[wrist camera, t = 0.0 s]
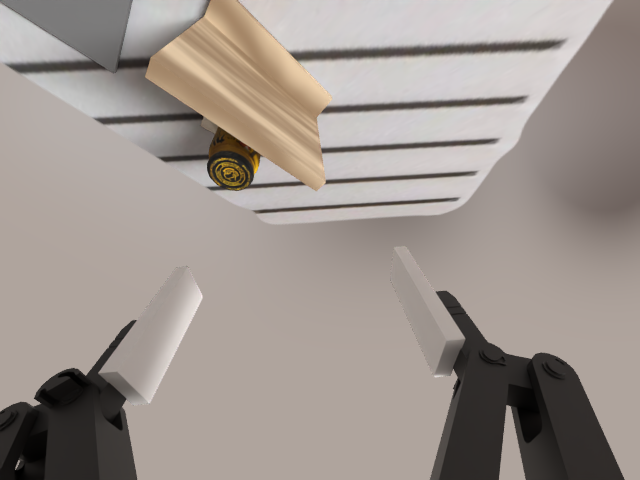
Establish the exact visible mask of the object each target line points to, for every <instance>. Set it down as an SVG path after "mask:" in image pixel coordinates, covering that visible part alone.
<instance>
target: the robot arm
mask: <svg viewBox="0 0 640 480" xmlns="http://www.w3.org/2000/svg"><path fill="white" fill-rule="evenodd" d="M390 280H391V283H392V285H393V287H394V289H395V292H396V294H397V296H398V298H399V301H400V303H401V305H402V307H403V309H404V312H405V314H406V316H407V318H408V321H409V323H410V325H411V327H412V330H413V332H414V334H415V336H416V339H417V341H418V343H419V345H420V347H421V350H422V352H423V354H424V356H425V359H426V361H427V363H428V365H429V368H430V370H431V372H432V374H433V376H434V377H441V376H450V375H451V373H452V370H453V369H454V371H455V373H456V374H457V376H458V379H457V381H456V383H455V385H454V388H453V389H454V393H453V396H452V400H451V404H450V407H449V412H448V415H447V419H446V423H445V426H444V430H443V434H442V437H441V441H440V445H439V448H438V452H437V456H436V460H435V463H434V467H433V471H432V475H431V478H430V480H499V472H500V462H501V452H502V443H503V433H504V423H505V413H506V405H509V406H511V409H512V413H513V419H514V423H515V428H516V433H517V438H518V444H519V448H520V453H521V458H522V463H523V468H524V473H525V478H526V480H624V477H623V475H622V473H621V471H620V468H619V466H618V464H617V462H616V460H615V457H614V455H613V453H612V451H611V448H610V446H609V444H608V442H607V440H606V437H605V435H604V433H603V431H602V429H601V426H600V424H599V422H598V420H597V417H596V415H595V413H594V411H593V408H592V406H591V404H590V402H589V399H588V397H587V395H586V393H585V391H584V389H583V386H582V384H581V382H580V379H579V377H578V375H577V374H576V372H575V371H574V369H573V368H572V367H571V366H570V365H568V364H567V363H566V362H565V361H563V360H562V359H560V358H558V357H556V356H554V355H550V354H547V353H538V354H535V355H534V357H533V358H532V359H529V358H524V357H519V356H514V355H509V354H506V353H504V352H503V351H502V350H501V349H500V348H498V347H497V346H495V345H493V344H491V343H488V342H487V340H486V339H485V338H484V337H483V335H482V334H481V332H480V331H479V330H478V328H477V327H476V326H475V324H474V323H473V321H472V320H471V319H470V317H469V316H468V315H467V314H466V312H465V311H464V309H463V308H462V307H461V305H460V303H459V302H458V301H457V299H456V298H455V297H454V296H453V295H451V294H450V293H449V292H447V291H438V292H435V291H434V289H433V288H432V286H431V284H430V283H429V281H428V280H427V278H426V277H425V275H424V274H423V272H422V270H421V269H420V267H419V266H418V264H417V263H416V261H415V260H414V258H413V257H412V255H411V253H410V252H409V250H408V249H407V247H406V246H400V247H394V249H393V258H392V268H391V277H390ZM202 298H203V296H202V294H201V292H200V290H199V288H198V286H197V284H196V282H195V280H194V277H193V275H192V273H191V271H190V269H189V267H188V266H186V267H177V268H175V270H174V271H173V272H172V274H171V275H170V276H169V278H168V279H167V281H166V282H165V283H164V284H163V286H162V287H161V289H160V290H159V291H158V293H157V294H156V295H155V297H154V298H153V299H152V301H151V302H150V304H149V305H148V306H147V307H146V309H145V310H144V312H143V313H142V315H141V316H140V317H139V318H138V320H133V321H131V322H130V323H129V324H128V325H127V326H125V327H124V328H123V329H122V330H121V331H120V333H119V334H118V336H116V338H115V340H114V341H113V342H112V343H111V344H110V346H109V348H108V349H106V351H105V352H104V353H103V355H102V356H101V357H100V359H99V360H98V361H97V362H96V364H95V365H94V366H93V368H92V369H91V370H90V371H89V373H88V374H87V375H86V376H85V375H84V374H83V373H82V372H81V371H79V370H78V369H75V368H71V369H66V370H64V371H62V372H60V373H58V374H56V375H55V376H53V377H51V378H50V379H49V380H48V381H46V382H45V383H44V384H43V385H42V386H41V388H40V389H39V390H38V391H37V392H36V395H35V398H34V399H36V400H37V401H38V402H40V403H41V404H40V405H37V406H34V407H33V406H31V405H30V404H28V403H26V402H19V403H16V404H13V405H11V406H9V407H7V408H5V409H4V410H2V411H1V412H0V480H137V475H136V469H135V464H134V459H133V453H132V447H131V442H130V436H129V430H128V425H127V419H126V414H125V411H124V409H123V408H122V406H123V404H124V402H125V401H126V399H127V400H128V401H129V402H130V403H131V404H132V405H142V404H150V402H151V400H152V398H153V396H154V394H155V392H156V390H157V388H158V386H159V384H160V382H161V380H162V378H163V376H164V374H165V372H166V370H167V368H168V366H169V364H170V362H171V360H172V358H173V356H174V354H175V352H176V350H177V348H178V346H179V344H180V342H181V340H182V338H183V336H184V334H185V331H186V330H187V328H188V326H189V324H190V322H191V320H192V318H193V316H194V314H195V312H196V310H197V308H198V306H199V304H200V302H201V300H202ZM18 460H20V463H19V465H18V467H17V469H16V470H15V467H16V465H17V462H18Z"/></svg>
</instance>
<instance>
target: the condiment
mask: <svg viewBox="0 0 640 480" xmlns="http://www.w3.org/2000/svg"><path fill="white" fill-rule="evenodd" d="M200 126H201V127H203V128H205V129H206V130H208V131H210V132H212V133H213V134H215V136H214V138H213V141H212V143H211V145H210V148H209V161H208V163H207V171H208V174H209V176H210V178H211V179H212V180H213V181H214V182H215V183H216V184H217V185H219V186H220V187H222V188H225V189H228V190H235V191H239V190H243V189H245V188H247V187H248V186H249V185H250V184H251V182H252V181H253V178H254V174H255V173H256V171H257V169H258V167H259V162H260V153H258V152H257V151H255V150H254V149H252V148H251V147H249V146H248V145H246V144H245V143H243V142H242V141H240V140H239V139H237V138H236V137H234V136H233V135H231V134H230V133H228V132H227V131H225V130H224V129H222V128H221V127H219V126H218V125H216V124H215V123H213V122H212V121H210V120H209V119H207V118H206V117H203V120H202V123H201V125H200Z"/></svg>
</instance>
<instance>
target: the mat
mask: <svg viewBox="0 0 640 480" xmlns="http://www.w3.org/2000/svg"><path fill="white" fill-rule="evenodd" d="M0 2H2V3H3V4H5V5H6V6H8V7H10V8H11V9H13V10H14V11H16V12H17V13H19V14H21V15H22V16H24V17H25V18H27V19H29V20H30V21H32V22H33V23H35V24H36V25H38V26H40V27H41V28H43V29H44V30H46V31H47V32H49V33H51V34H52V35H54V36H55V37H57V38H59V39H60V40H62V41H63V42H65V43H66V44H68V45H70V46H71V47H73V48H74V49H76V50H78V51H79V52H81V53H82V54H84V55H85V56H87V57H89V58H90V59H92V60H93V61H95V62H96V63H98V64H100V65H101V66H103V67H104V68H106V69H108V70H109V71H111V72H112V73H116V72H117V67H118V63H119V58H120V54H121V49H122V45H123V40H124V36H125V32H126V27H127V23H128V18H129V14H130V9H131V5H132V0H0Z"/></svg>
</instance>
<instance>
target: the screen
mask: <svg viewBox="0 0 640 480" xmlns="http://www.w3.org/2000/svg"><path fill="white" fill-rule="evenodd" d="M145 78H147V79H148V80H150V81H151V82H153V83H154V84H156V85H157V86H159V87H160V88H162V89H163V90H165V91H166V92H168V93H169V94H171V95H172V96H174V97H175V98H177V99H178V100H180V101H181V102H183V103H184V104H186V105H187V106H189V107H191V108H192V109H194V110H195V111H197V112H198V113H200V114H201V115H203V116H204V117H206V118H207V119H209V120H210V121H212V122H213V123H215V124H216V125H218V126H219V127H221V128H222V129H224V130H225V131H227V132H228V133H230V134H231V135H233V136H234V137H236V138H237V139H239V140H240V141H242V142H243V143H245V144H246V145H248V146H249V147H251V148H252V149H254V150H255V151H257V152H258V153H260V154H261V155H263V156H264V157H266V158H267V159H269V160H270V161H272V162H273V163H275V164H276V165H278V166H279V167H281V168H282V169H284V170H285V171H287V172H288V173H290V174H291V175H293V176H294V177H296V178H297V179H299V180H300V181H302V182H303V183H305V184H306V185H308V186H309V187H311V188H312V189H314V190H315V191H317V190H318V189H319V188H320V187H321V186H322V185H324V184H325V183H326V180H325V173H324V166H323V159H322V152H321V146H320V139H319V132H318V125H317V116H318V115H319V114H320V113H321V112H322V111H323V109H324V108H325V107H326V106H327V105H328V103H329V102H330V101H331V100H332V96H331V95H330V94H329V93H328V92H327V91H326V90H325V89H324V88H323V87H322V86H321V85H320V84H319V83H318V82H317V81H316V80H315V79H314V78H313V77H312V76H311V75H310V74H309V73H308V72H307V71H306V70H305V69H304V68H303V67H302V65H301V64H300V63H299V62H298V61H297V60H296V59H295V58H294V57H293V56H292V55H291V54H290V53H289V52H288V51H287V50H286V49H285V48H284V47H283V46H282V45H281V44H280V43H279V42H278V41H277V40H276V39H275V38H274V37H273V36H272V35H271V34H270V33H269V32H268V31H267V30H266V29H265V28H264V27H263V26H262V25H261V24H260V23H259V22H258V21H257V20H256V19H255V18H254V17H253V16H252V14H251V13H250V12H249V11H248V10H247V9H246V8H245V7H244V6H243V5H242V4H241V3H240V2H239V1H238V0H210V3H209V5H208V8H207V11H206V13H205V16H204V17H203V18H201V19H200V20H199V21H197V22H196V23H195V24H194V25H192V26H191V27H190V28H188V29H187V30H186V31H184V32H183V33H182V34H181V35H179V36H178V37H177V38H175V39H174V40H173V41H171V42H170V43H169V44H168V45H166V46H165V47H164V48H162V49H161V50H160V51H158V52H157V53H156V54H154V55H153V56H152V57H151V59H150V62H149V65H148V69H147V72H146V75H145Z"/></svg>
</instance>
